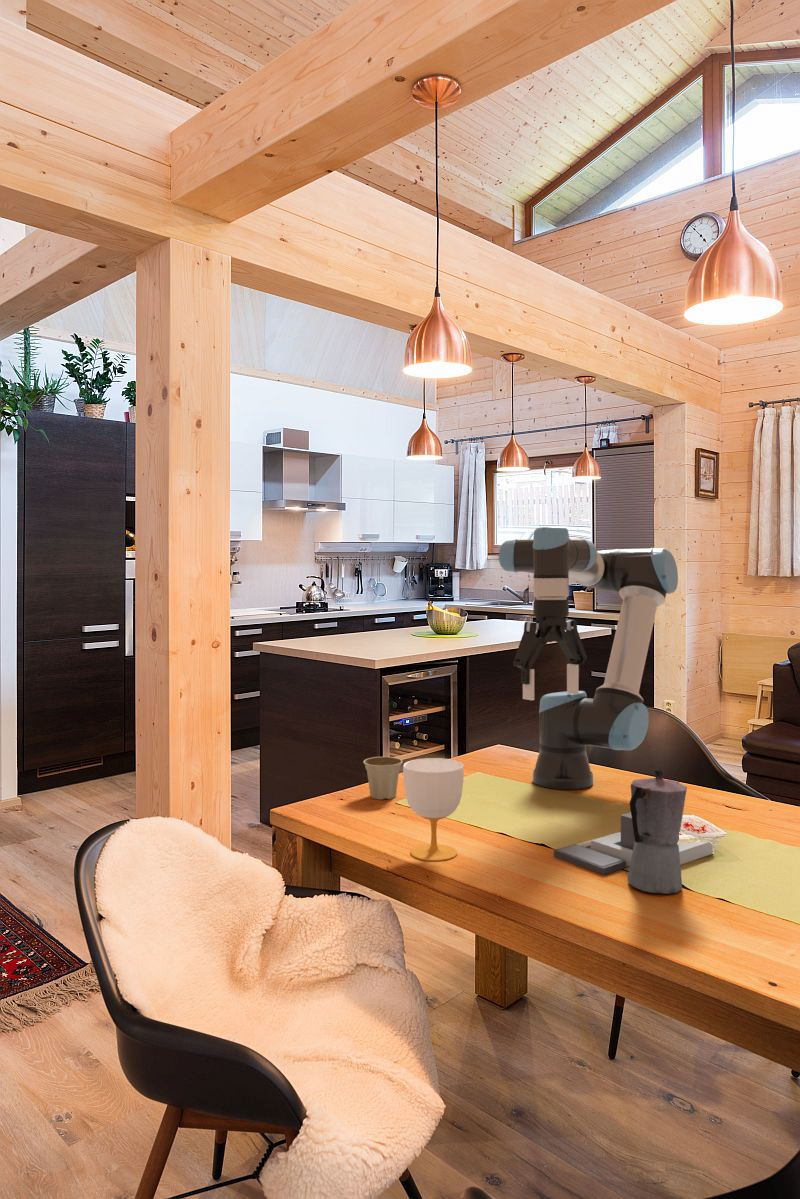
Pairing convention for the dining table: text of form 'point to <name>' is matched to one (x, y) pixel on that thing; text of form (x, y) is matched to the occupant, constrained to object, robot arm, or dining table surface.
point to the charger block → (627, 831)
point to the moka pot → (656, 834)
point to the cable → (586, 843)
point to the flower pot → (383, 776)
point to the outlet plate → (613, 848)
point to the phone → (590, 859)
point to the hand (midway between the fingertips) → (551, 696)
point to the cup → (433, 798)
